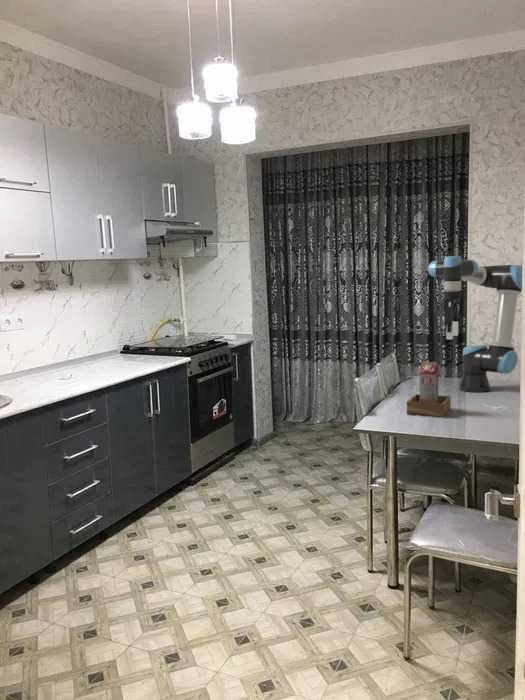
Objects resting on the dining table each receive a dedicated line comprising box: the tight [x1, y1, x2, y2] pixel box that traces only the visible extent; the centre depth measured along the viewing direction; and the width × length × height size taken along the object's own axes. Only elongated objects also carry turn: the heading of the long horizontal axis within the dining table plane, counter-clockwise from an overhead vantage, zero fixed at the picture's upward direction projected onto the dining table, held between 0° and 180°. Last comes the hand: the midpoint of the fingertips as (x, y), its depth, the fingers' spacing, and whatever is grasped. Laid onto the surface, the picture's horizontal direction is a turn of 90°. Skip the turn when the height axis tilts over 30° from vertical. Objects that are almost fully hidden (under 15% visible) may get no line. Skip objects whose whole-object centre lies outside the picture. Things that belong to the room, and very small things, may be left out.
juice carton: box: [419, 361, 439, 403], centre depth 265 cm, size 7×7×22 cm
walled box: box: [406, 393, 452, 418], centre depth 266 cm, size 16×16×6 cm
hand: (452, 337), depth 268 cm, fingers open, 13 cm apart
